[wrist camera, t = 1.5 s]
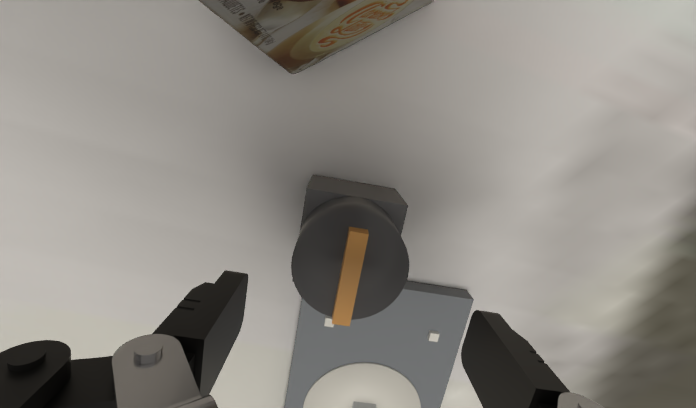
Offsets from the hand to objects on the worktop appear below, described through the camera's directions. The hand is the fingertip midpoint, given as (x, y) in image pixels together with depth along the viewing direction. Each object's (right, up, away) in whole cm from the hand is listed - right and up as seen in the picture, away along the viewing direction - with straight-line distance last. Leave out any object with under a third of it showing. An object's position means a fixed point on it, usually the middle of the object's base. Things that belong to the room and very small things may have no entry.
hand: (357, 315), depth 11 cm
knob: (0, +3, +10) cm, 10 cm away
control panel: (+1, -9, +13) cm, 16 cm away
